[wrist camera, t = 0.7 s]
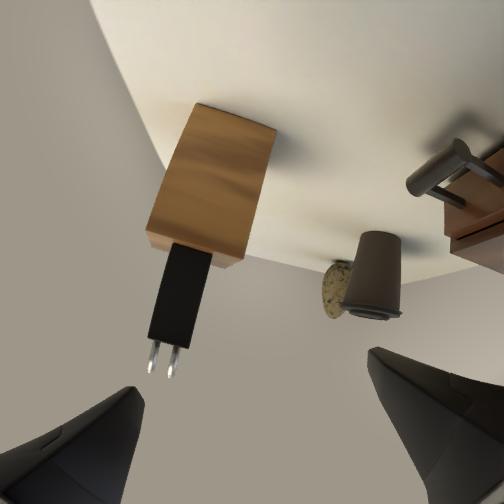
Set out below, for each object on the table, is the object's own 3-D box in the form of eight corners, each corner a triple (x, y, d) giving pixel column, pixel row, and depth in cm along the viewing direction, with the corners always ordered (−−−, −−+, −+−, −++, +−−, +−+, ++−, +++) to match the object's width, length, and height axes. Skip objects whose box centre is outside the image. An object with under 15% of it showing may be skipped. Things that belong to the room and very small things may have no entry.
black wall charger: (172, 242, 17) (138, 378, 15) (213, 254, 18) (179, 389, 16) (172, 251, 21) (144, 363, 19) (205, 261, 21) (177, 372, 20)
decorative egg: (364, 263, 47) (353, 321, 45) (353, 269, 52) (343, 321, 50) (331, 255, 47) (319, 315, 45) (323, 262, 53) (312, 315, 51)
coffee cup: (423, 238, 30) (413, 323, 28) (394, 253, 38) (383, 323, 36) (363, 220, 30) (348, 311, 28) (342, 239, 38) (329, 312, 36)
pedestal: (195, 102, 18) (144, 230, 16) (276, 130, 19) (243, 259, 17) (188, 143, 23) (151, 247, 21) (253, 164, 25) (225, 269, 23)
